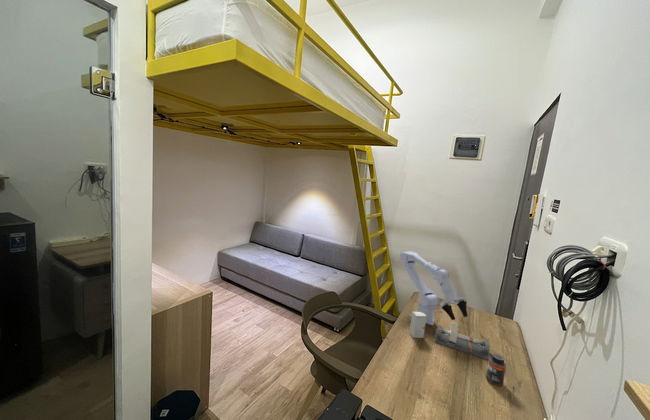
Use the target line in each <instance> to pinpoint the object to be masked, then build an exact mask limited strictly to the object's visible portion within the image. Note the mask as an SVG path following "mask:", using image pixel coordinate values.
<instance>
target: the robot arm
mask: <svg viewBox="0 0 650 420" xmlns="http://www.w3.org/2000/svg"><path fill="white" fill-rule="evenodd" d="M399 261H400V262H401V264H402V267H403V269H404V271H405V273H406V274H407V276H408V277H409V278H410V280H411V282H412V283H413V285H414V287H415V289H416V290H417V292H419V293H418V295H417V297H418V299H419V302H420V303H418V304H417V305H418V306H417V311H416V312H423V313H424V314H425V315H426V316H427V317H426V324H428V325H431V326H435V325H434V324H435V312H436V308H437V306H438V305H439V306H440V307H441V309H442V310H443V311H444V312H445V313H447V316H448V317H449V318H450V320H451V321H455V320H456V316H455V314H454V312H453V311H454V310H453V309H452V305H453V304H456V305H457V307H458V308H459V310H460V312H461V314H462V316H463V317H464V318H467V317H469V316H468V311H467V300H466V298H465V296H464V297H463V296H462V297H457V294H456V292H455V289H454V288H453V286H452V283H451V281H450V279H449V277H450V273H449V272H448V270H447V269H445V268H441V267H440V266H437V265H436V264H435V263H434V262H433V261H432V262H431V261H429V262H428V261H426V259H424V258H423V257H421V256H420V255H419V254H418V252H415V251H401V252H400V253H399ZM416 264H419V265H420V266H421V267H423V268H424V271H426V272H427V273H429V274H430V275H431V276H433V278H434V280H435V281H436V282H437V284H439V287H440V290H441V292H442V294H443V296H444V299H445V301H441V302H440V298H439V297H438V295H436V293H435V292H434V291H433V290H432V289H429V288H428V287H427V285H426V284H425V283H424V281H423V279H422V278H421V277H420V275H419V274H418V272H417V271H416V269H415V267H414V266H415V265H416Z"/></svg>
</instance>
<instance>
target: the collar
mask: <svg viewBox="0 0 650 420" xmlns="http://www.w3.org/2000/svg"><path fill="white" fill-rule="evenodd" d="M449 327H450V329H449V331H450V336H449V341H452V342H455V343H456V339H457V334H458V332H459V323H458V322H455V321H451V322H450V326H449Z"/></svg>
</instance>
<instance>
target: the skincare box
mask: <svg viewBox="0 0 650 420" xmlns="http://www.w3.org/2000/svg"><path fill="white" fill-rule="evenodd" d="M426 317H427V316H426V315H425V314H424V313H423V312H417V311H412V312H411V320H410V326H409V334H410V335H411V337H412V338H417V339H418V338H419V339H421V338H422V339H423V338H424V336H425V329H426V324H427V323H426Z"/></svg>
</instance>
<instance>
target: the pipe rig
mask: <svg viewBox="0 0 650 420" xmlns="http://www.w3.org/2000/svg"><path fill="white" fill-rule="evenodd" d="M434 330H435V332H434V334H435V335H434V343H436V344H439V345H442V346H445V347H448V348H451V349H453V350H456V351H460V352H463V353H466V354H468V355H471V356H473V357H474V356H475V357H477V358H481V359H484V360H486V361H489V358H491V357H492V356H491V355H490V348H491V344H490V340H489V339H486V338H483V339H477V338H474V337H472V336H467V335H464V334H461V333H458V332H457V333H458V334H457V339H456V343H455V342H452V341H449V336H450V329H445V328H443V326H442V325H441V324H437V327H436V328H435V329H434Z"/></svg>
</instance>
